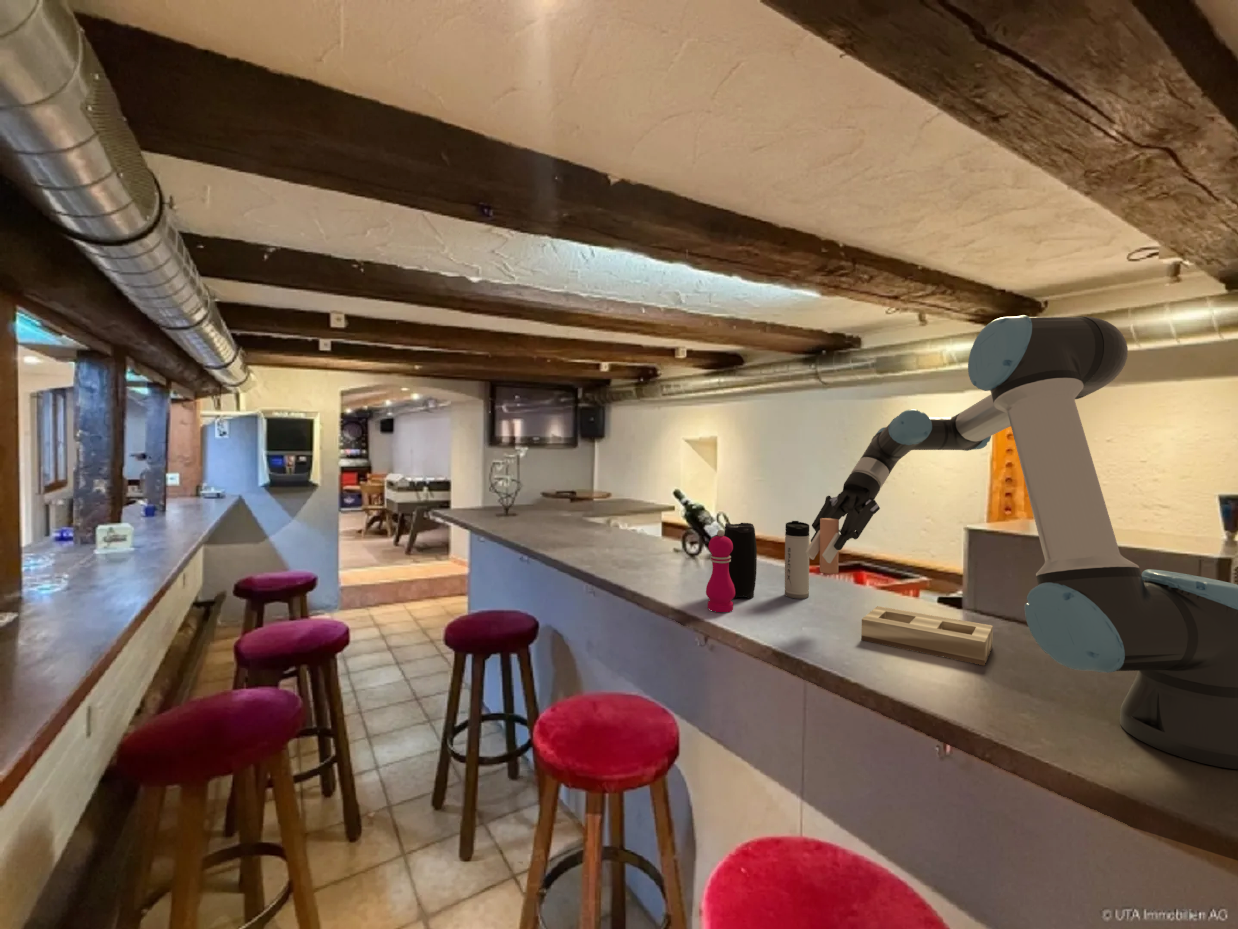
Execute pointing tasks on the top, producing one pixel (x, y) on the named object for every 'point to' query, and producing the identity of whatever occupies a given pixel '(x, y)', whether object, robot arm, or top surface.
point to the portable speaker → (742, 558)
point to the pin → (826, 534)
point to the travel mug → (796, 560)
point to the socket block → (928, 634)
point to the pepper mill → (720, 575)
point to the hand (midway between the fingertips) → (817, 557)
